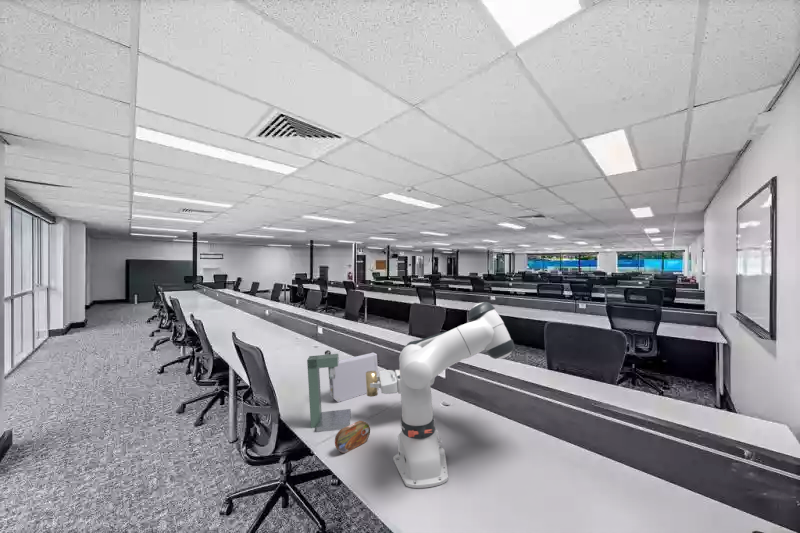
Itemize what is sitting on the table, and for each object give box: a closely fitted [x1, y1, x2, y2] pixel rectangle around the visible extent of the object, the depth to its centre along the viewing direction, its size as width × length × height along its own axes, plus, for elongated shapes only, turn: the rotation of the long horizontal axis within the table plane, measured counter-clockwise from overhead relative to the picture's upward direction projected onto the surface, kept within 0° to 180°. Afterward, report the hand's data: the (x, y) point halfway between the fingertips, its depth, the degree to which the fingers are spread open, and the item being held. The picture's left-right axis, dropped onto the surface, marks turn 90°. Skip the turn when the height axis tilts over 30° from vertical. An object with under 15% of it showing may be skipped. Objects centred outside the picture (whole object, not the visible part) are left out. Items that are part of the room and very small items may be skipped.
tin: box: [334, 420, 371, 454], centre depth 120 cm, size 15×3×8 cm, turn 132°
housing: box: [366, 371, 379, 398], centre depth 142 cm, size 5×5×10 cm
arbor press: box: [306, 350, 352, 433], centre depth 143 cm, size 21×17×30 cm
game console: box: [328, 352, 380, 403], centre depth 169 cm, size 6×27×20 cm, turn 124°
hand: (369, 382), depth 142 cm, fingers closed on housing, 5 cm apart
